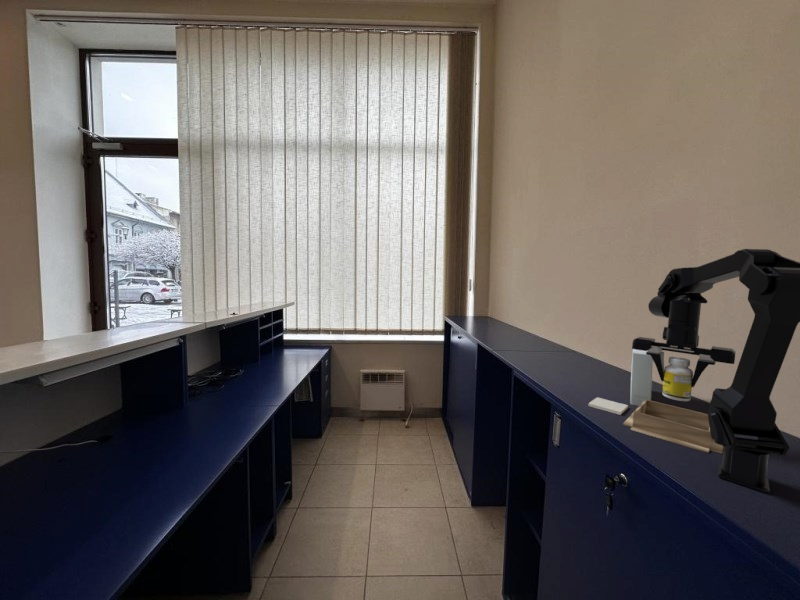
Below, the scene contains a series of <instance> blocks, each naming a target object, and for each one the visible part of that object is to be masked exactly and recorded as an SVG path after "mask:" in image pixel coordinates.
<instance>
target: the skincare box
mask: <svg viewBox="0 0 800 600" xmlns="http://www.w3.org/2000/svg"><path fill="white" fill-rule="evenodd" d="M647 351H648V350H647ZM647 351H643V350H636V349H632V354H631V368H630V370H631V371H630V393H629V394H630V401H629V402H630V405H633V406H638V407H639V406H640V405H641V404H642V402H643V401H644V400H645V399H646V400H650V401H652V388H653V363H654V361H653V359H652V357H651V355H647V354H646V352H647Z"/></svg>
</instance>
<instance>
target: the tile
mask: <svg viewBox="0 0 800 600" xmlns="http://www.w3.org/2000/svg"><path fill="white" fill-rule="evenodd" d="M587 404H588V405H587V406H588V407H591V408H594V409H598V410H601V411H604V412H605V411H606V412H609V413H613V414H615V415H616V414H617V415H619V416H621V415H622V414H623V413H625V412H626V411H627V409H629V405H628V404H624V403H621V402H620V403H619V402H618V401H617V402H616V401H613V400H610V399H609V400H608V399H605V398H602V397H599V396H597V397H595V398H594V399H592V400H591V401H590V402H589V403H587Z"/></svg>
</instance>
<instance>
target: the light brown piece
mask: <svg viewBox="0 0 800 600" xmlns="http://www.w3.org/2000/svg"><path fill="white" fill-rule="evenodd" d="M622 426H625V427H630V431H633V432H637V433H640V434H643V435H647V436H650V437H654V438H657V439H660V440H663V441H667V442H669V443H673V444H676V445H680V446H683V447H685V448H690V449H694V450H695V451H696V450H697V451H699V452H702V453H703V452H704V453H706V454H709V453H710V451H711V452H713V453H717V454H721V455H723V450H724V446H722V445H719V444H717V443H715V440H714V439H712V438H711V433H710V427H709V420H708V413H704V412H700V411H696V410H692V409H688V408H684V407H679V406H675V405H671V404H666V403H662V402H658V401H655V400H651V401H650V400H646V399H645V400H644V401H643V402H642V404H641V405H640V406H638V407H636V409H635V410H634V411H633V412H632V413H631V414H630V416H629V417H627V419H626V420H625V421H624V422H623V423H622Z"/></svg>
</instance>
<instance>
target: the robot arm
mask: <svg viewBox="0 0 800 600" xmlns="http://www.w3.org/2000/svg"><path fill="white" fill-rule="evenodd" d="M735 278H738V282H740V283H741V284H742V285H744V286H745V287H746V288H748V294H747V295H748V296H747V301H748V303H749V305H750V307H751V309H752V311H753V313H754V318H753V320H752V324H751V325H750V326H751V327H750V329H749V333H748V334H747V335H748V336H747V338H746V342H745V344H744V347H743V350H742V353H741V357H740V359H739V362H738V365H737V367H736V371H735V373H734V377H733V379H732V383H731V385H730V386H729V387H727V388H719V387H718V388H715V389H714V390H713V391H712V394H711V395H712V396H711V400H710V401H709V403H708V404H707V405H708V407H709V409H708V412H707V414H708V420H709V427H710V433H711V438H712V439H714V440H715V443H717V444H719V445H722V446H723V451H722V460H721V462H719V463H718V469H717V477H718V478H721V479H723V480H726V481H730V482H732V483H736V484H738V485H742V486H744V487H747V488H751V489H754V490H757V491H760V492H762V493H765V494H770V492H771V489H770V484H769V483H770V482H769V478H768V477H767V474H768V466H769V456H770V455H771V454H773V455H779V456H786V454H787V453H788V451H789V449H790V446H789V444H788V442H787V440H786V439H785V437H784V436H783V434H782V432H781V430H780V428H779V426H778V425H777V424H776V421H777V415H778V414H777V410H776V408H775V406H774V405H773V402H772V400H771V394H772V392H773V389H774V386H775V384H776V381H777V378H778V377H779V374H780V371H781V368H782V365H783V363H784V361H785V358H786V356H787V353H788V350H789V347H790V344H791V342H792V340H793V337H794V334H795V333H796V328H797V326H798V325H799V324H800V262H799V261H797V260H794V259H791V258H788V257H785V256H783V255H781V254H780V253H778V252H776V251H775V250H772V249H768V248H764V249H763V248H762V249H761V248H742V249H739V250H737V251H735V252H734V253H732V254H730V255H727V256H724V257H721V258H718V259H716V260H713V261H710V262H708V263H705V264H701V265H698V266H695V267H694V266H692V267H690V266H689V267H680V268H679V267H678V268H672V269H671V270H670V271H669V273H668V274H666V276H665V278H664V280H663V281H662V283H661V284H660V285H659V287H658V289H657V290H658V291H657V295H656V296H655V297H653V298H652V299H650V301H649V303H648V310H649V312H650V314H652V315H653V316H655V317H658V318H659V317H661V318H667V319H668V320H667V326H663V331H662V339H663V340H664V341H666V342H657V341H656V338H652V337H643V336H638V337H636V338H634V339H633V340H632V345H631V349H632V350H633V349H636V350H643V351H647V350H648V351H647V352H646V354H647V355H651V357H652V359H653V363H654V364H655V367H656V369H657V372H658V375H659V378H660V381H661V382H663V380H664V369H665V360H664V359H665V351H666V352H673V353H678V354H679V353H681V354H685V355H686V354H688V355H695V356H698V357H699V358H698V359H697V362H696V365H695V369H694V372H693V379H692V388H695V386H696V384H697V383H698V380H699V379H700V376H701V375H702V373H703V372H704V371H705V370H706V369H707V368H708V366H709V365H711V366H715V365H716V363H721V364H722V363H723V364H728V365H734V364H735V361H736V350H734V349H733V348H729V347H723V346H714V345H713V346H711V348H705V347H704V348H703V347H699V340H700V335H699V328H700V327H699V326H700V321H701V320H700V319H701V310H702V308H701V307H702V304H707V303H708V300H707V299H706V298H705V297H704V296H703V295H702V294H703V293H705V292H708V291H710V290H711V289H713V288H714V285H715V284H718V283H721V282H724V281H728V280H733V279H735ZM735 435H737V436H745V437H737V436H735ZM747 437H755V438H757V439H755V438H747Z"/></svg>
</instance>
